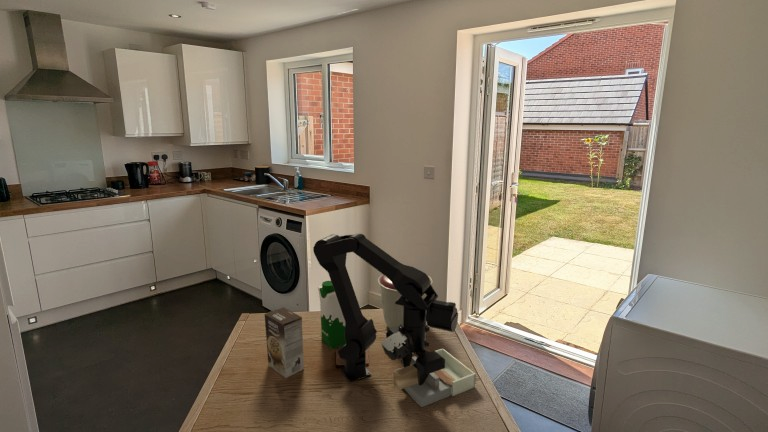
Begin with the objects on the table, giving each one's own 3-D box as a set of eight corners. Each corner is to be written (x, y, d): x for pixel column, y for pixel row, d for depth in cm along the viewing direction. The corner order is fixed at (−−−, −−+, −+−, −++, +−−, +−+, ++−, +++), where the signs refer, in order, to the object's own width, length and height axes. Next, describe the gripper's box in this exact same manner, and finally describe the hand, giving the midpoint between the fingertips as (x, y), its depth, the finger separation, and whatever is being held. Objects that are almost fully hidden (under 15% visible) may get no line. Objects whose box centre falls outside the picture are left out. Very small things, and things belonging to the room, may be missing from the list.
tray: (421, 367, 116) (421, 355, 115) (442, 360, 120) (442, 348, 119) (452, 396, 104) (453, 382, 104) (474, 387, 108) (475, 373, 107)
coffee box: (267, 365, 117) (263, 313, 114) (286, 356, 122) (283, 305, 118) (285, 379, 111) (282, 324, 108) (305, 368, 116) (302, 316, 112)
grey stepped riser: (394, 378, 112) (394, 370, 111) (421, 369, 116) (422, 361, 115) (421, 407, 101) (421, 398, 100) (450, 395, 105) (451, 386, 104)
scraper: (385, 375, 109) (385, 362, 108) (414, 365, 113) (415, 352, 112) (408, 400, 99) (408, 385, 98) (439, 388, 104) (439, 374, 103)
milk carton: (317, 339, 131) (315, 280, 127) (342, 331, 136) (341, 274, 132) (330, 351, 124) (328, 289, 120) (356, 342, 129) (355, 283, 125)
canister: (438, 336, 133) (441, 274, 128) (384, 342, 130) (384, 279, 125) (422, 311, 150) (423, 256, 146) (373, 315, 147) (373, 259, 142)
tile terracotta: (434, 373, 109) (437, 368, 109) (445, 378, 111) (447, 373, 111) (444, 382, 105) (448, 377, 105) (455, 387, 107) (458, 382, 107)
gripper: (368, 314, 107) (368, 367, 110) (407, 348, 91) (406, 410, 94) (405, 305, 112) (404, 356, 116) (447, 336, 96) (445, 394, 100)
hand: (413, 377), depth 106 cm, fingers open, 6 cm apart
